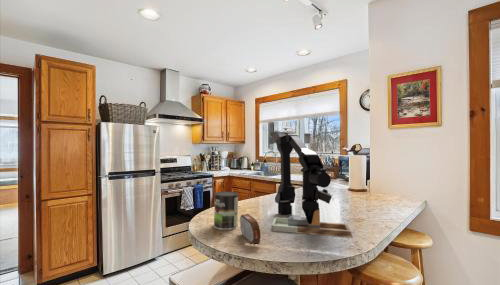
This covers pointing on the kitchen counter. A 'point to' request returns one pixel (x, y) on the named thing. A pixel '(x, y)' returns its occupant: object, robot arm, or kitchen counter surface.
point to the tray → (282, 225)
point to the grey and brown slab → (250, 228)
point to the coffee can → (226, 210)
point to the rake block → (315, 220)
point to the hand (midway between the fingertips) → (309, 222)
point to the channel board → (327, 229)
